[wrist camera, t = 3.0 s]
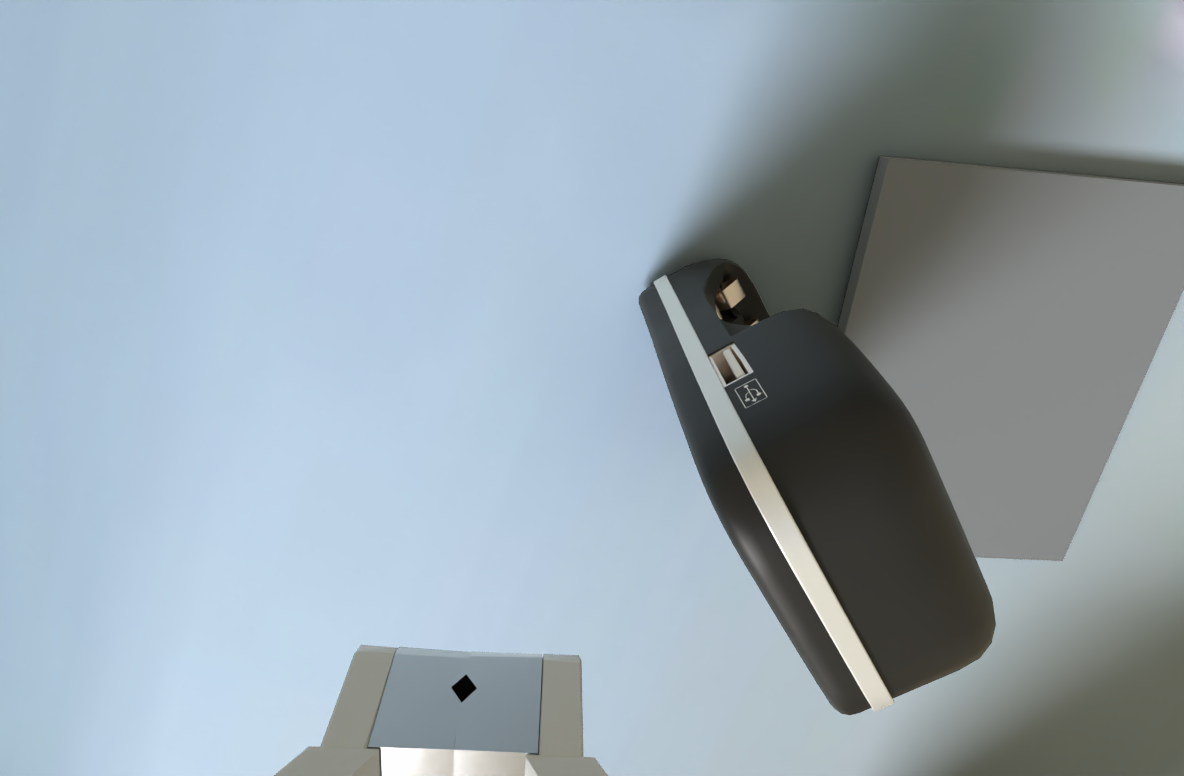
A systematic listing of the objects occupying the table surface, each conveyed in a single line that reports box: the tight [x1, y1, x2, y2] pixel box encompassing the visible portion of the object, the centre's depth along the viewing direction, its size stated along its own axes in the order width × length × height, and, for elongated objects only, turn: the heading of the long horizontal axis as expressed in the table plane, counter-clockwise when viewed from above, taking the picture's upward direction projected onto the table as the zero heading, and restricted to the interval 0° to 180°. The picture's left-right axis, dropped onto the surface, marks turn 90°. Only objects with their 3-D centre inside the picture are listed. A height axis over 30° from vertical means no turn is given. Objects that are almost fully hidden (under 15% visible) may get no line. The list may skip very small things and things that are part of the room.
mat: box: [838, 156, 1184, 561], centre depth 23 cm, size 10×13×1 cm
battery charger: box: [639, 259, 996, 715], centre depth 18 cm, size 7×4×11 cm, turn 30°
